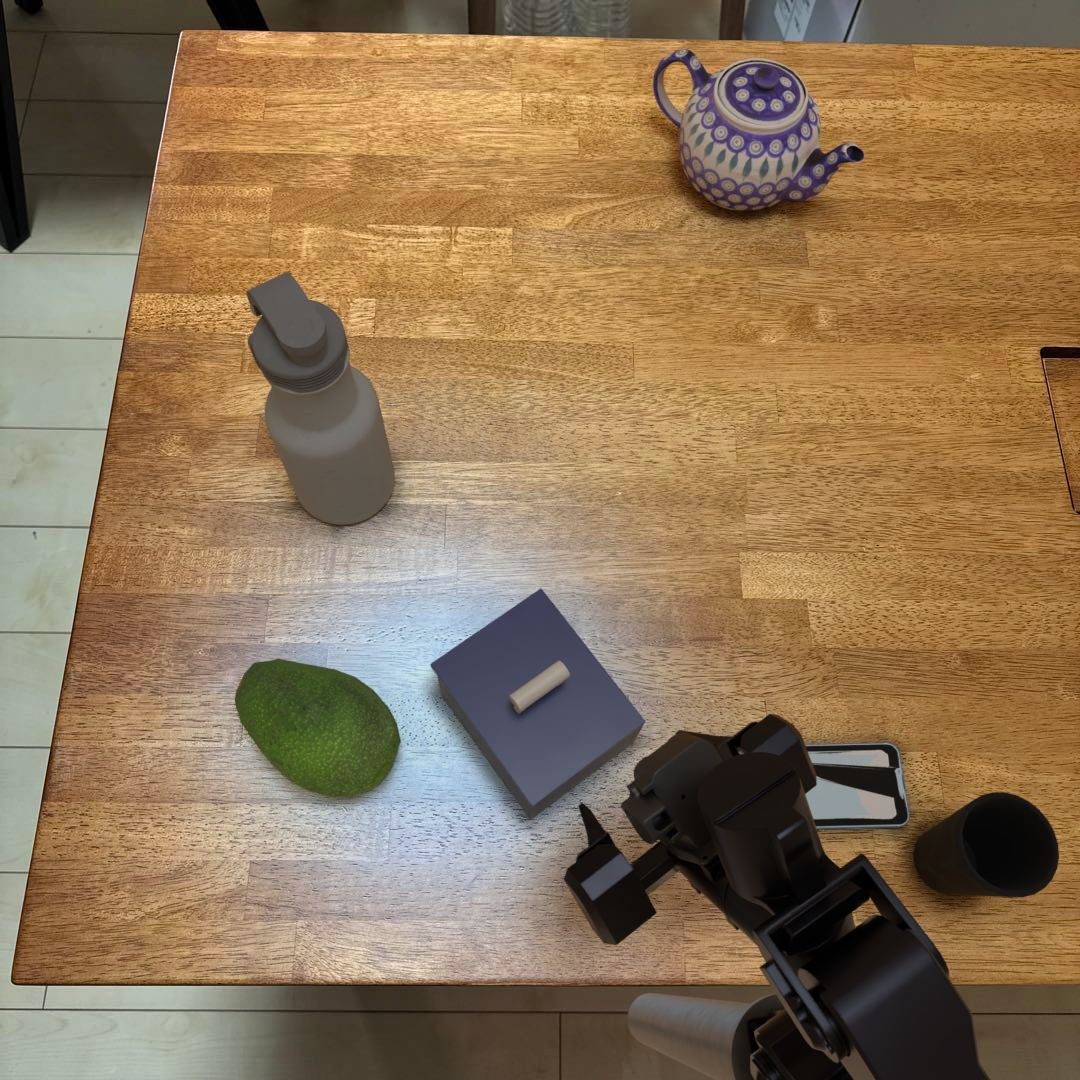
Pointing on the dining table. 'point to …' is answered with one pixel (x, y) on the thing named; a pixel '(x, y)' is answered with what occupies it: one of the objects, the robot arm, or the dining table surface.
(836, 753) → the smartphone
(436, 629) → the dining table surface
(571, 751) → the lid
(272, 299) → the water bottle
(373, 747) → the fruit
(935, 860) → the cup
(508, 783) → the box
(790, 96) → the teapot
